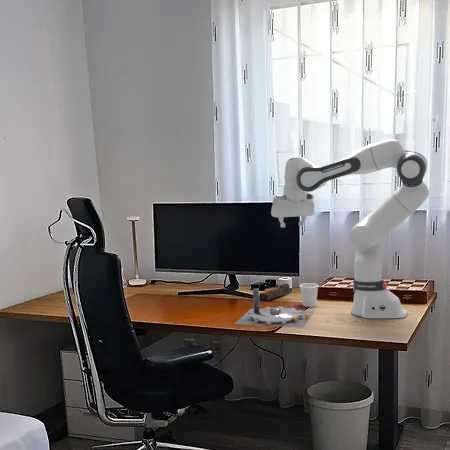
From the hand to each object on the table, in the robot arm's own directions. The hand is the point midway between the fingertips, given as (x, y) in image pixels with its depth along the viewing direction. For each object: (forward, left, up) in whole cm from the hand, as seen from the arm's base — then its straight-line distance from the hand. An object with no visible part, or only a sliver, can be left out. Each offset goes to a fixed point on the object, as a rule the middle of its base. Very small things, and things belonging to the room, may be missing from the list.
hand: (292, 226), depth 252 cm
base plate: (+4, +18, -37) cm, 41 cm away
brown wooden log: (+13, -21, -37) cm, 45 cm away
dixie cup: (-6, -5, -37) cm, 38 cm away
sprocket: (+4, +18, -36) cm, 40 cm away
